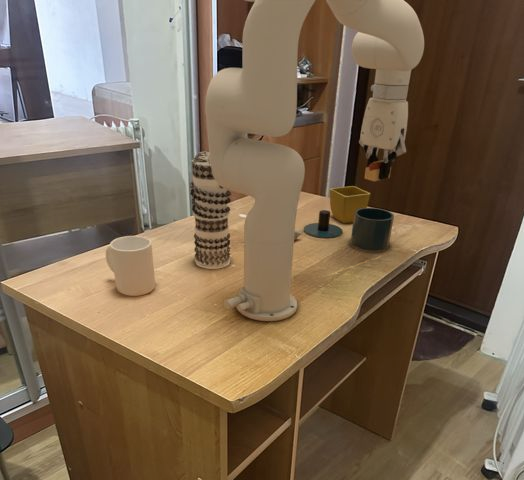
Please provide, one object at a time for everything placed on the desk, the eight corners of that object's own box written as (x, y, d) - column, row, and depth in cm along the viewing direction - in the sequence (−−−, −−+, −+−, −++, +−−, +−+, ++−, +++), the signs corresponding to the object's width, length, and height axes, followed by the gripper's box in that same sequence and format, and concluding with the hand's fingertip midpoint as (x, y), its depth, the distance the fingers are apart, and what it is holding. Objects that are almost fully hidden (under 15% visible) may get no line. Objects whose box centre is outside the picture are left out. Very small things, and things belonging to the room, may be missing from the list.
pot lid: (322, 243, 131) (325, 221, 128) (295, 231, 138) (297, 210, 134) (350, 235, 137) (352, 213, 134) (322, 223, 144) (324, 203, 140)
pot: (371, 255, 125) (377, 223, 121) (342, 243, 132) (346, 212, 127) (395, 246, 131) (402, 215, 126) (367, 235, 137) (371, 205, 132)
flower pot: (325, 218, 148) (329, 188, 143) (350, 214, 151) (354, 185, 146) (341, 227, 142) (345, 196, 136) (366, 224, 145) (371, 193, 140)
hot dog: (373, 181, 118) (376, 164, 116) (363, 178, 120) (365, 161, 118) (390, 177, 121) (393, 160, 119) (380, 174, 123) (382, 158, 121)
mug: (96, 285, 107) (88, 240, 101) (124, 272, 113) (118, 229, 107) (136, 300, 102) (130, 254, 96) (163, 286, 108) (159, 241, 102)
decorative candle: (222, 251, 124) (221, 147, 110) (237, 265, 118) (238, 156, 104) (188, 257, 121) (182, 150, 107) (202, 272, 114) (197, 160, 100)
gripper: (351, 89, 113) (342, 171, 124) (410, 98, 103) (394, 187, 113) (372, 88, 117) (361, 167, 128) (431, 96, 107) (414, 182, 117)
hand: (377, 176), depth 120 cm, fingers closed on hot dog, 3 cm apart
